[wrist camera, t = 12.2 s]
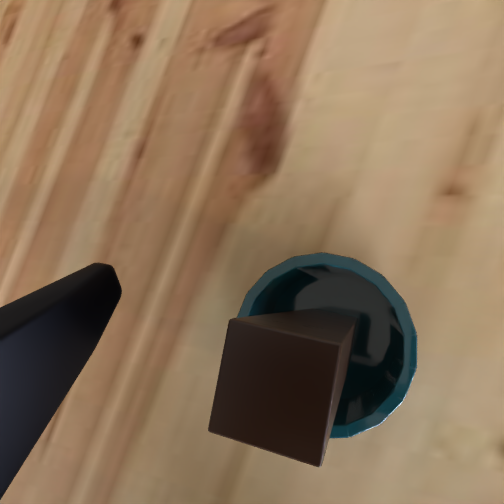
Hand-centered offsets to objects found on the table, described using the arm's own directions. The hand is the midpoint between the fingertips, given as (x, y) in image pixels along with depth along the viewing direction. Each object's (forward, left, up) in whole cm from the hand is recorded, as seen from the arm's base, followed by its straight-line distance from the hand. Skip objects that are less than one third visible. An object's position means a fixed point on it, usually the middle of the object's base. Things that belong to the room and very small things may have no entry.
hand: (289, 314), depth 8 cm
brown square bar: (-1, 0, -12) cm, 13 cm away
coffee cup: (-1, 0, -13) cm, 13 cm away
